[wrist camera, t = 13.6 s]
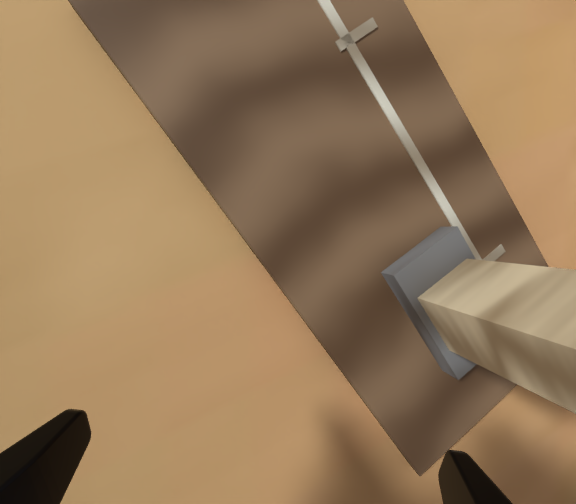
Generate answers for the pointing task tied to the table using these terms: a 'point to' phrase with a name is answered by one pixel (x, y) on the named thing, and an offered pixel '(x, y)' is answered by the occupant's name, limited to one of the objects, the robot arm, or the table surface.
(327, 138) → the walnut board
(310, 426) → the table surface
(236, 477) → the table surface
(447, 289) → the cube with dome top
